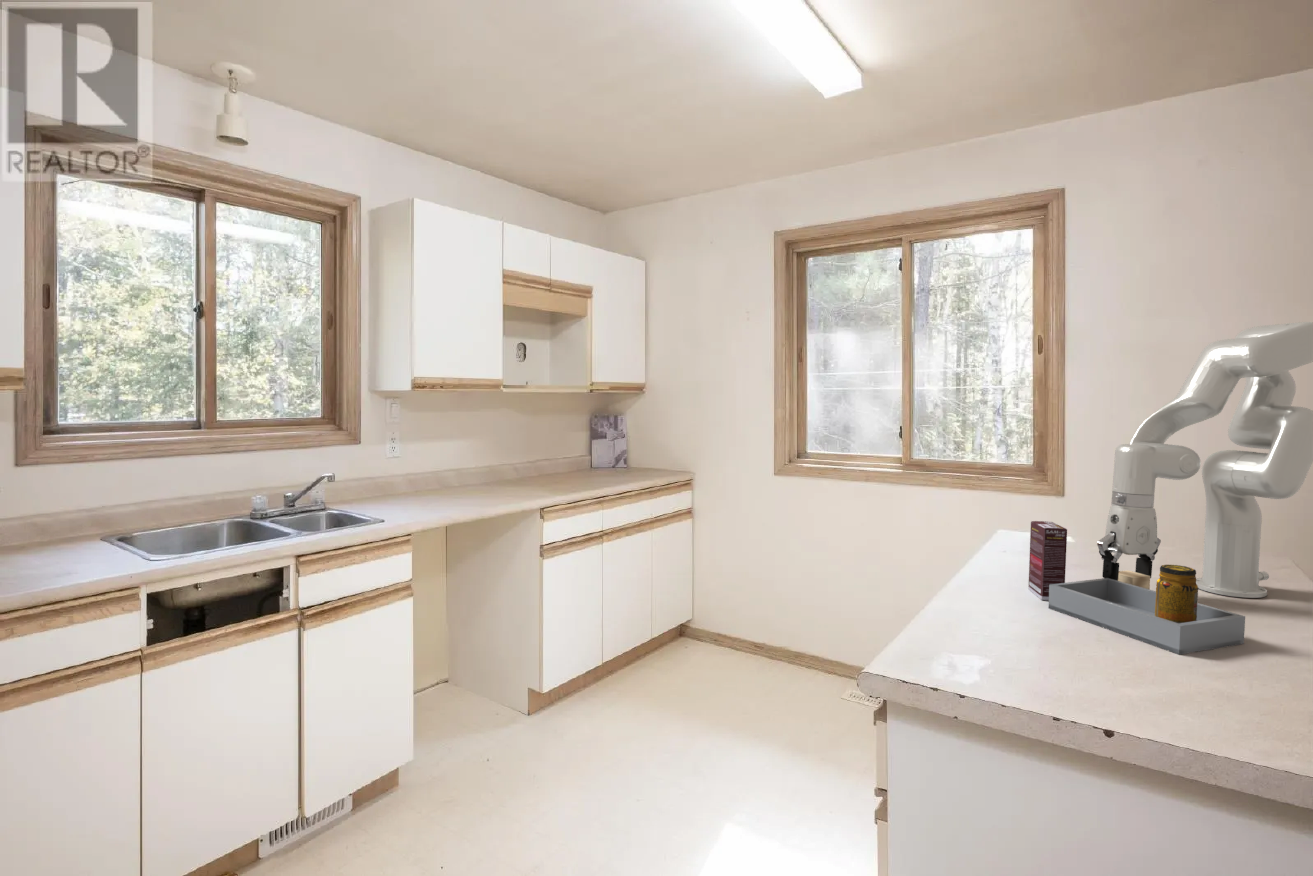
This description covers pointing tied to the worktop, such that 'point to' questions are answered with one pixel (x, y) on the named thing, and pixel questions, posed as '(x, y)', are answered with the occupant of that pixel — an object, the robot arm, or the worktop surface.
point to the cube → (1134, 579)
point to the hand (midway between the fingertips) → (1126, 578)
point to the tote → (1145, 616)
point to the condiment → (1176, 594)
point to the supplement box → (1046, 557)
